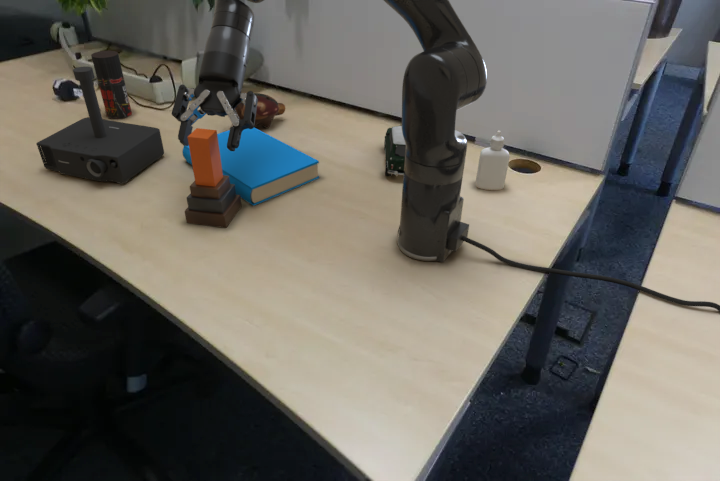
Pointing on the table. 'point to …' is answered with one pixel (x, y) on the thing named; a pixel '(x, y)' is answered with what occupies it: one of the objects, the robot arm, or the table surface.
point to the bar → (205, 157)
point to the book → (262, 165)
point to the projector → (100, 143)
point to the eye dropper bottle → (493, 165)
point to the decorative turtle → (263, 109)
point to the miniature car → (394, 151)
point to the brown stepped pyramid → (212, 204)
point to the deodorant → (111, 84)
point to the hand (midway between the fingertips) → (207, 147)
